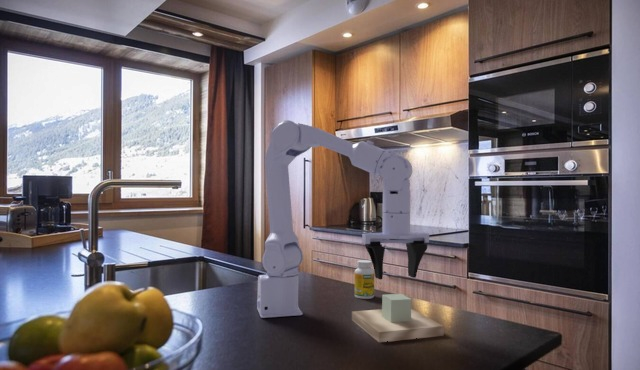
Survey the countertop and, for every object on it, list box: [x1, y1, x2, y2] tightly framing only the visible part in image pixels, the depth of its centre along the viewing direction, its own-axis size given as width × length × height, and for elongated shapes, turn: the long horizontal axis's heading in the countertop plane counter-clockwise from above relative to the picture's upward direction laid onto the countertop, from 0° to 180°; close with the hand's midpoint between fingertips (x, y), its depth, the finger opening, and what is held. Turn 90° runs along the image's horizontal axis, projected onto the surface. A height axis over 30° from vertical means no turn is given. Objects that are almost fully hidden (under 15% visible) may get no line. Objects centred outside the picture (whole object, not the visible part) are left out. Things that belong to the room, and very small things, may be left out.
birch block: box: [351, 308, 445, 343], centre depth 87 cm, size 14×14×2 cm
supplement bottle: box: [354, 259, 375, 300], centre depth 112 cm, size 5×5×10 cm
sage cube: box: [381, 293, 412, 322], centre depth 87 cm, size 4×4×4 cm
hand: (395, 277), depth 87 cm, fingers open, 7 cm apart
